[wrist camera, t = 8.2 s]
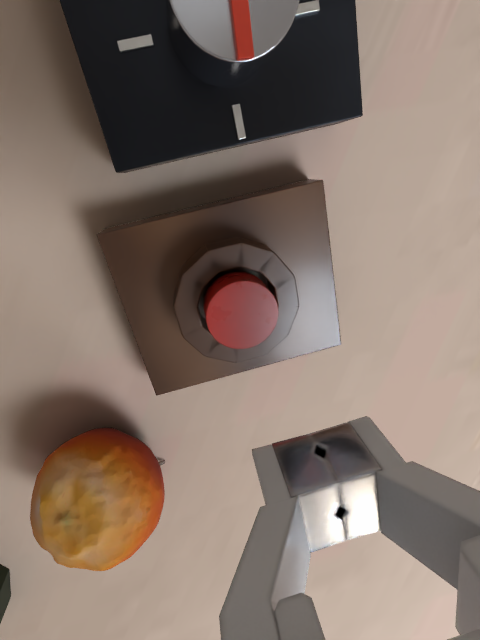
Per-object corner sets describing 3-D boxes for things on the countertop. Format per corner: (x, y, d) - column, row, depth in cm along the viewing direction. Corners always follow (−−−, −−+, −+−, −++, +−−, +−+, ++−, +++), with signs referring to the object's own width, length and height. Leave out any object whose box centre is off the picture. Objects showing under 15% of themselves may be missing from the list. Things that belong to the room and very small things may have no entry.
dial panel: (124, 172, 19) (115, 172, 16) (54, -47, 16) (27, -97, 13) (337, 123, 20) (364, 115, 17) (317, -96, 16) (348, -154, 14)
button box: (157, 377, 24) (154, 413, 20) (103, 228, 20) (88, 240, 16) (328, 330, 25) (354, 357, 21) (309, 179, 21) (337, 180, 17)
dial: (155, -37, 14) (147, -120, 10) (265, -49, 14) (299, -132, 10) (179, 94, 16) (181, 68, 12) (277, 80, 16) (310, 50, 12)
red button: (212, 342, 20) (216, 357, 18) (195, 281, 18) (197, 291, 17) (275, 325, 20) (283, 338, 18) (263, 263, 19) (272, 272, 17)
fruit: (137, 539, 27) (63, 627, 19) (73, 458, 28) (-21, 510, 21) (210, 471, 26) (163, 537, 18) (140, 389, 27) (68, 417, 19)
